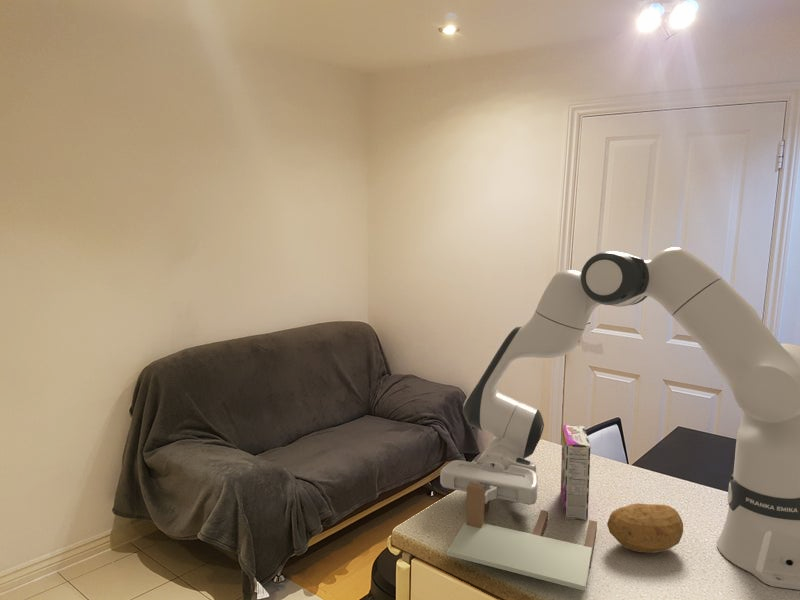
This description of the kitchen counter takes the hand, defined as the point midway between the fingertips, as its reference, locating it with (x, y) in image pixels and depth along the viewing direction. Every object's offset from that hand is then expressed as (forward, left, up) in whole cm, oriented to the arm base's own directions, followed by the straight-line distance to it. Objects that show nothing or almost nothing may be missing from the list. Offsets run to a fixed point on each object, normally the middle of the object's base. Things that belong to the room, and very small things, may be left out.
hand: (478, 498), depth 108 cm
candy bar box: (-16, -18, -7) cm, 25 cm away
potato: (-30, -8, -7) cm, 32 cm away
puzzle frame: (-10, -4, -7) cm, 13 cm away
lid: (-10, +7, -5) cm, 13 cm away
